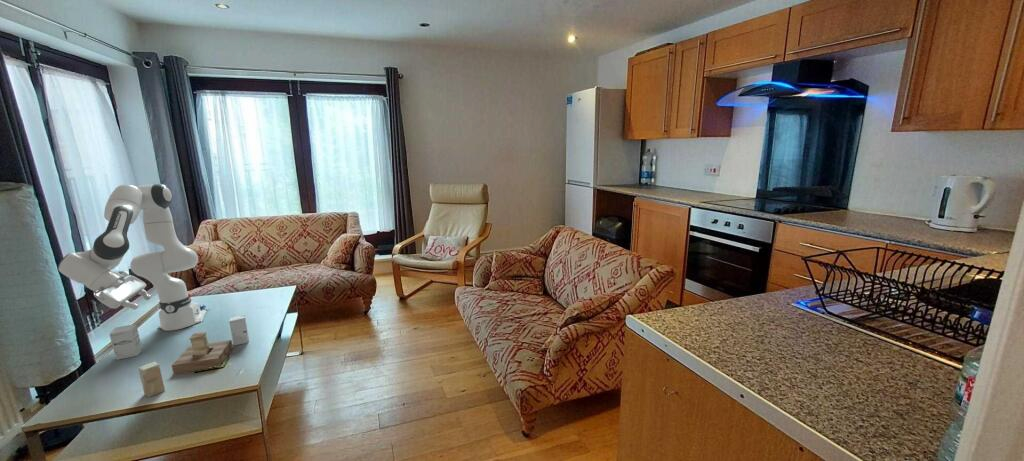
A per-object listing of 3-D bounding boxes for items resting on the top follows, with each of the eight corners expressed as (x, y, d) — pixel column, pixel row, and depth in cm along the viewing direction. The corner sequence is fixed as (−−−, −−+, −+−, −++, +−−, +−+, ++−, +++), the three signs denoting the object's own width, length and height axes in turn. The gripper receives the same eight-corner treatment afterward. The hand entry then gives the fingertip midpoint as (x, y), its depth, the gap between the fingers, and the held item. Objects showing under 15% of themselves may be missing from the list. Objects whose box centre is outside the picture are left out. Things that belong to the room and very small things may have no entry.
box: (148, 397, 150) (141, 370, 147) (144, 394, 152) (136, 367, 149) (166, 390, 154) (159, 363, 151) (161, 386, 156) (154, 360, 154)
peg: (200, 358, 175) (194, 333, 173) (211, 357, 177) (206, 331, 174) (195, 364, 171) (189, 338, 168) (207, 362, 172) (201, 336, 170)
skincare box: (233, 346, 185) (228, 321, 183) (234, 342, 189) (229, 317, 186) (249, 342, 188) (244, 318, 186) (249, 338, 192) (244, 314, 189)
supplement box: (115, 360, 176) (108, 334, 173) (121, 353, 183) (114, 327, 180) (137, 356, 180) (130, 329, 177) (143, 348, 186) (136, 323, 183)
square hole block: (191, 354, 179) (189, 346, 178) (233, 348, 184) (231, 339, 183) (173, 374, 164) (171, 365, 163) (219, 366, 169) (217, 357, 168)
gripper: (96, 287, 152) (134, 307, 157) (127, 269, 170) (161, 288, 176) (84, 299, 151) (123, 319, 157) (117, 280, 170) (151, 299, 176)
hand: (143, 302), depth 166 cm, fingers open, 8 cm apart
